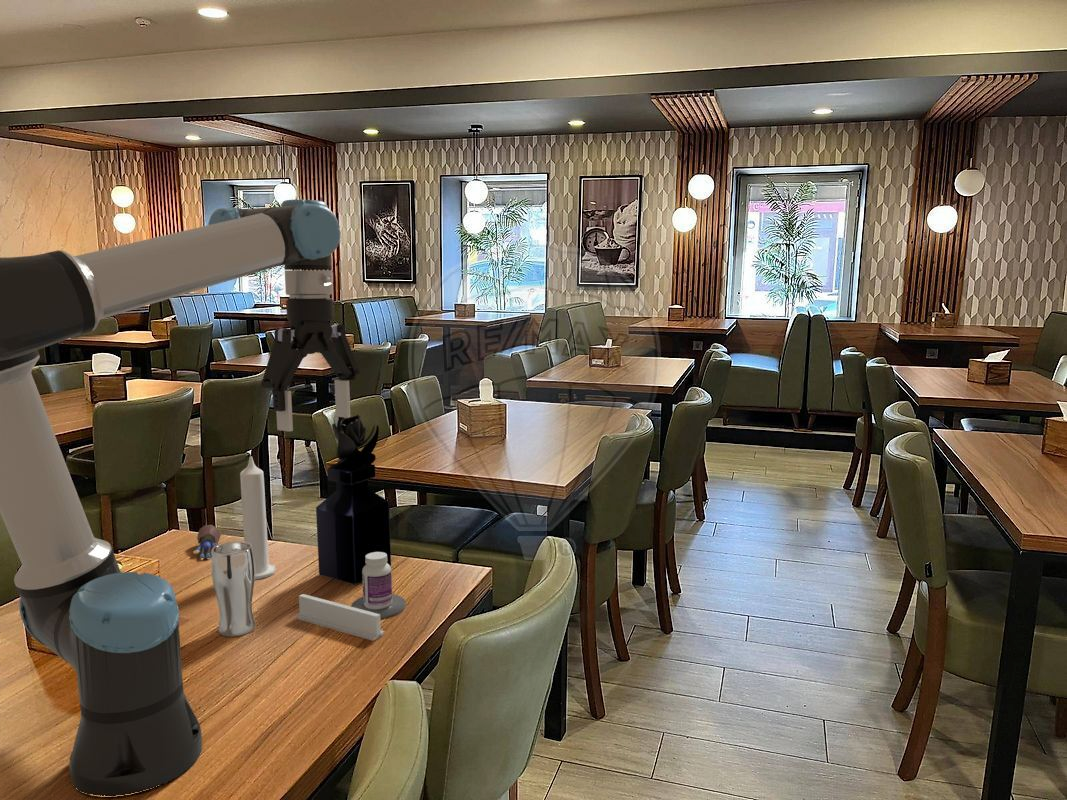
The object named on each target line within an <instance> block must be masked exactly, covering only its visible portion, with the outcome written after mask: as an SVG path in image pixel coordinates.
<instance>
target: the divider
mask: <svg viewBox="0 0 1067 800" xmlns="http://www.w3.org/2000/svg"><path fill="white" fill-rule="evenodd" d="M298 601H299V603H298V605H299V606H298V607H299V614H297V615H295V620H299V621H303V622H307V623H310V624H313V625H317V626H321V627H324V628H327V629H330V630H332V631H333V630H334V631H337V632H340V633H345V634H348V635H351V636H355V637H358V638H362V639H365V640H368V641H373V642H375V641H376V640H377V639H379V638H381V637H382V636H384V635H385V633H386V632H385V630H383V629H382V628H381V627H382V626H381V624H382V623H381V622H382V621H381V619H380V614H377V613H373V612H369V611H365V610H362V609H358V608H354V607H351V606H350V605H346V604H342V603H339V602H335V601H331V600H327V599H324V598H320V597H316V596H314V595H313V596H312V595H309V594H305V593H302V594H300V595H298Z"/></svg>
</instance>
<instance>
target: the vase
mask: <svg viewBox="0 0 1067 800" xmlns="http://www.w3.org/2000/svg"><path fill="white" fill-rule="evenodd" d="M331 428H332V430H333V431H332V432H333V435H334V437H335V439H336V440H337V441H338V443H337V451H336V453H337V454H336V456H337V458H338V459H339V460H338V461H336V463H333V464H329V467H327V471H326V472H327V481H331V482H335V484H336V485H335V486H336V490H335V491H334V492H333V493H332V494H330V495H329V496H328V497H326V499H325V500H323V501H321V503H319V504H318V505H317V506H316V507H315V512H316V514H315V517H316V536H317V537H316V538H317V552H318V553H317V555H318V556H317V559H318V575H319V576H321V577H326V578H329V579H333V580H336V581H339V582H343V583H347V584H350V585H354V586H355V585H356V586H357V585H358V584H360V583H363V578H362V570H363V568H364V566H365V565H366V563H365V556H366V555H367V554H369V553H373V552H384V553H386V554H387V564H389V565H390V567H391V568H392V556H391V553H392V552H391V551H392V550H391V524H390V523H391V522H390V519H391V518H390V502H389V501H388V500H387V499H385V498H384V497H382V496H381V495H379V494H378V493H376V492H375V491H373V490H372V489H370V488H369V480H370V479H374V478H376V465H375V464H373V463H374V462H375V461H376V458H377V456H376V455H375V454H374V453H373V452H374V450H375V448H376V446H377V442H378V439H379V433H380V428H379V425H378V424H377V425H376V426H375V425H373V427H372V429H371V432H370V433H369V435H368V436H367V437H366V432H367V427H365V426H364V424H363V422H362V420H361V415H360V414H355V415H353V416H351V417H349V418H345V417H337V423H336V422H334V423H332V424H331ZM375 428H376V430H375ZM371 437H372V438H371ZM363 445H364V446H363ZM362 446H363V447H362ZM360 447H362V449H361V450H359V449H360Z"/></svg>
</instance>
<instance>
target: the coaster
mask: <svg viewBox="0 0 1067 800" xmlns="http://www.w3.org/2000/svg"><path fill="white" fill-rule="evenodd" d="M406 603H407V602H406V599H405V598H404V597H402V596H401V595H398V594H394V593H392V604H391V605H390V606H389V607H387V608H384V609H378V610H373V609H368V608H366V607H365V606H364V599H363V596H362V597H359V598H357V599H355V600H354V601H353V602H352V604H351V606H350V607H354V608H358V609H362V610H365V611H369V612H373V613H377V614H380V620H381V619H386V618H391V617H394V616H397V615H398V614H401V613H402V612H403V611H404V610H405V608H406Z"/></svg>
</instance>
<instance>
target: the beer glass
mask: <svg viewBox="0 0 1067 800" xmlns="http://www.w3.org/2000/svg"><path fill="white" fill-rule="evenodd" d="M210 552H211V558H210V559H211V567H210V568H211V580H212V586H213V590H214V592H215V593H214V594H215V597H216V601H217V604H218V610H219V621H218V622H219V623H218V634H219V635H220V636H223V637H227V638H230V637H231V638H235V637H241V636H244V635H247V634H249V633H252V632H253V631H254V630H255V628H256V621H255V617H254V614H253V606H252V605H253V604H252V603H253V594H254V587H255V579H254V578H255V568H254V558H253V552H252V545H251V544H250V543H248V542H244V541H241V540H240V541H238V540H237V541H236V540H235V541H228V542H223V543H218V544H216V546H215V547H213V548H212V547H211V550H210Z"/></svg>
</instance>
